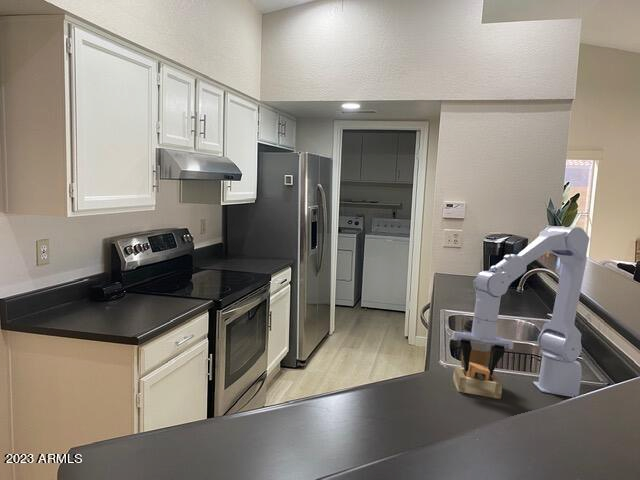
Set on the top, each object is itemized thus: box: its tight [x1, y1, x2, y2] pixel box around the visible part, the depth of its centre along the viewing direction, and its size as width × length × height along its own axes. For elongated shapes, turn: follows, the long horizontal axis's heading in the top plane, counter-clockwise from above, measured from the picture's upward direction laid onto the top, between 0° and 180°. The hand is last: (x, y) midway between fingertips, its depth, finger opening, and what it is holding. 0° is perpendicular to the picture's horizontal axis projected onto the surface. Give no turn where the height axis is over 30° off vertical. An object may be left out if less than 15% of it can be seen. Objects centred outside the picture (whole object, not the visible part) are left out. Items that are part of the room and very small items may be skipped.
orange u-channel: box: [466, 362, 490, 380], centre depth 119 cm, size 4×5×5 cm
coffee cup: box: [460, 319, 491, 368], centre depth 129 cm, size 8×8×15 cm
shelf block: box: [452, 366, 504, 399], centre depth 119 cm, size 10×10×5 cm
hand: (477, 372), depth 119 cm, fingers open, 5 cm apart
